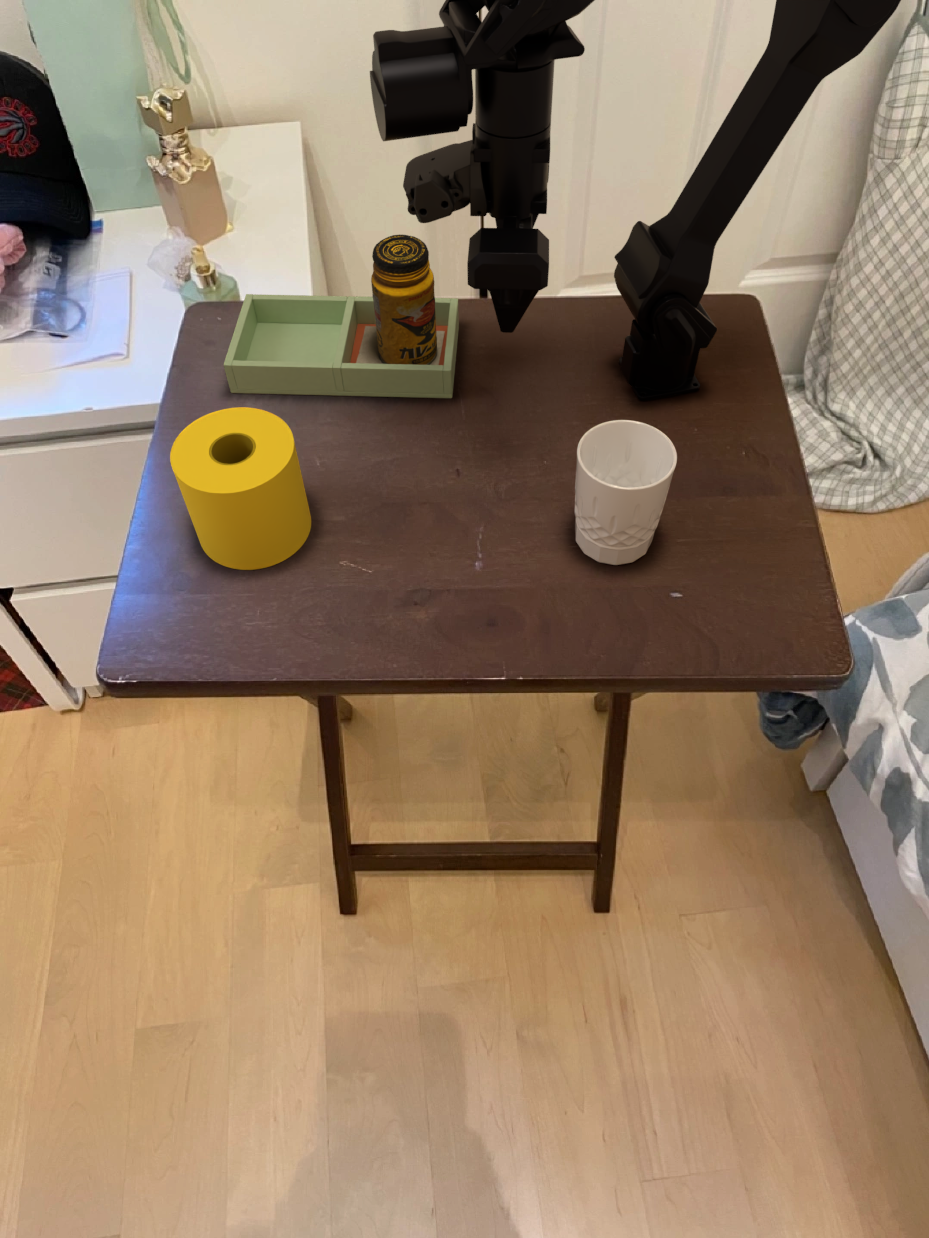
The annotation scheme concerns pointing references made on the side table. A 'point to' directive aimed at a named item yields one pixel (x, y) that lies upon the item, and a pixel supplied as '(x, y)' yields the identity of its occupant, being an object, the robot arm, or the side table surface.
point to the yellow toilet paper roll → (242, 487)
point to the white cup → (621, 489)
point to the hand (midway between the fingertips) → (508, 299)
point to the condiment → (402, 306)
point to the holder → (328, 350)
